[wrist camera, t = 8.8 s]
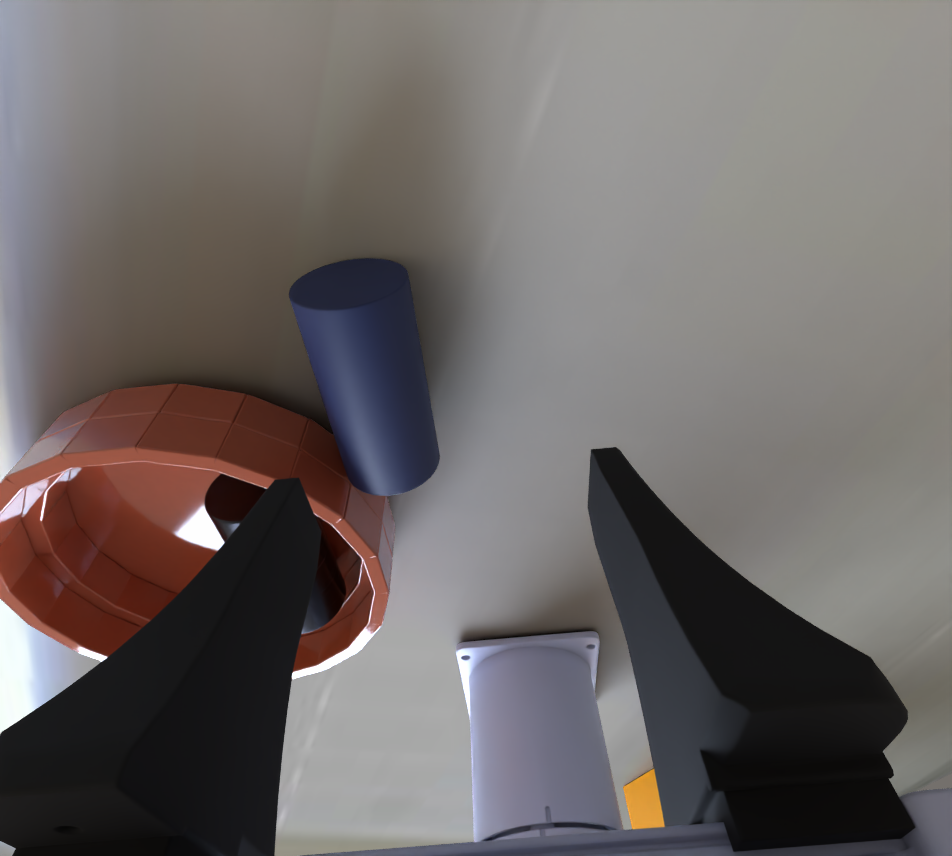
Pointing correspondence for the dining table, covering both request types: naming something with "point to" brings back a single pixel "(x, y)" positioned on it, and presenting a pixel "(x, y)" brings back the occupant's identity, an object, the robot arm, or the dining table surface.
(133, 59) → the dining table surface
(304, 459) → the bowl
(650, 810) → the orange juice
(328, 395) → the navy tube
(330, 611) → the black cylinder
